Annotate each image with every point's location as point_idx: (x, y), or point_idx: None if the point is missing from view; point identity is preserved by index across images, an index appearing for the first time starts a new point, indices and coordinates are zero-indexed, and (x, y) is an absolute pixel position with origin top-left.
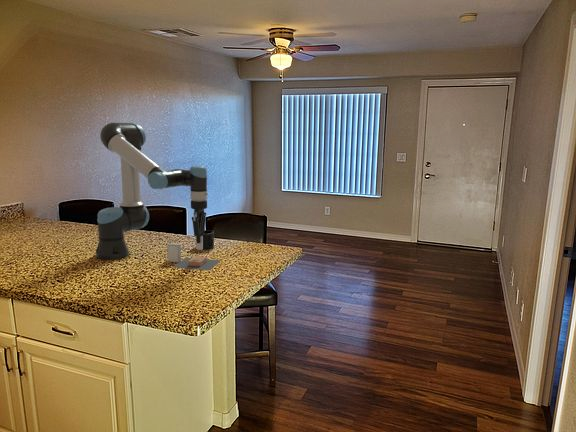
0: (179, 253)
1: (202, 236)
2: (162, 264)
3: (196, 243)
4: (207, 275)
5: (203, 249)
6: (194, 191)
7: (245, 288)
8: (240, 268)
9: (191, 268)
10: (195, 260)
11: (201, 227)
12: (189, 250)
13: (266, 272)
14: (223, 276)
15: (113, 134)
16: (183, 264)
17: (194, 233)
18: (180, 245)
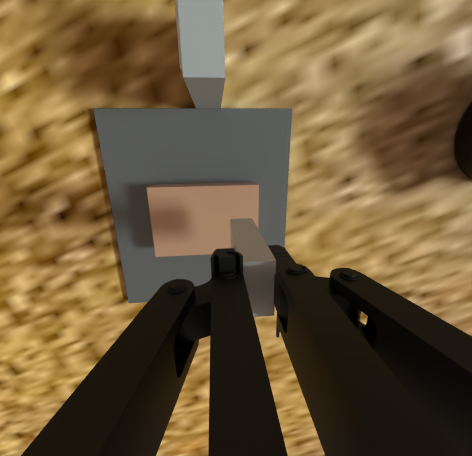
0: (195, 96)
1: (264, 311)
2: (145, 4)
3: (233, 234)
4: (80, 308)
5: (458, 142)
6: None
7: (19, 450)
8: None
9: (118, 219)
10: (175, 221)
11: (307, 391)
12: (460, 53)
13: (196, 449)
14: (98, 361)
15: None
16: (165, 150)
17: (149, 307)
18: (217, 81)
